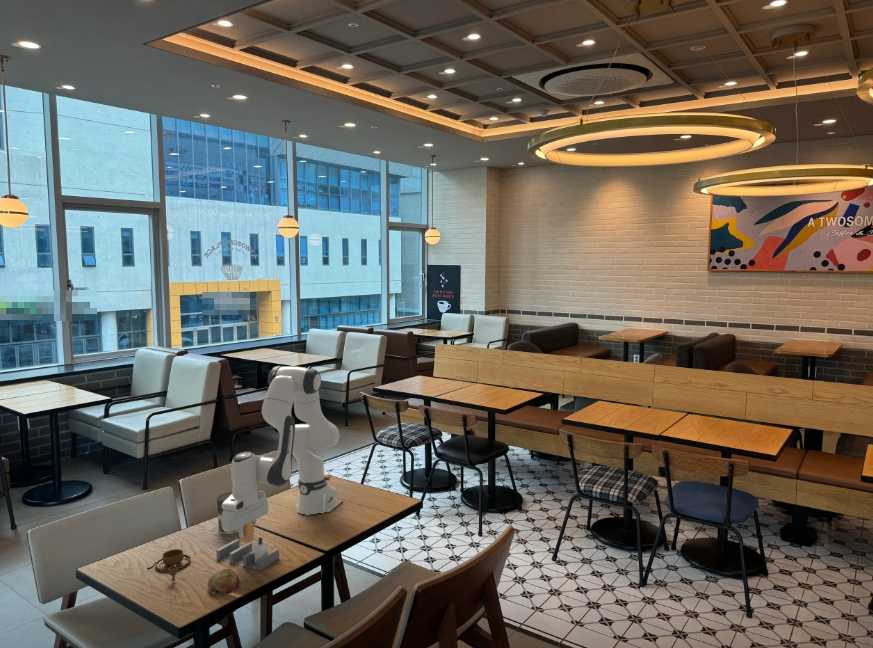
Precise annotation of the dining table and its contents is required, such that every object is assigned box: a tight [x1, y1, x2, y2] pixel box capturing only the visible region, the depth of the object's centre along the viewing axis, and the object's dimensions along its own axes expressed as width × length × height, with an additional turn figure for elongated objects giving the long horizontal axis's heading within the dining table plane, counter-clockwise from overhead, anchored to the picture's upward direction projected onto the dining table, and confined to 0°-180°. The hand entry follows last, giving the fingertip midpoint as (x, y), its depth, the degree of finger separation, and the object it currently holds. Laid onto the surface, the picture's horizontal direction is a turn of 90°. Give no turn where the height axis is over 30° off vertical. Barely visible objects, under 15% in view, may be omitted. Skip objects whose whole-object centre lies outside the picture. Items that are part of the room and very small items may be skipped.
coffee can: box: [216, 491, 239, 535], centre depth 253 cm, size 10×10×14 cm
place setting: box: [154, 548, 191, 582], centre depth 219 cm, size 18×20×6 cm
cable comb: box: [215, 539, 280, 571], centre depth 225 cm, size 10×21×4 cm, turn 63°
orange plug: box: [239, 521, 254, 544], centre depth 224 cm, size 3×4×9 cm
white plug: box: [253, 536, 269, 563], centre depth 221 cm, size 3×4×9 cm
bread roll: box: [207, 568, 240, 595], centre depth 206 cm, size 10×10×8 cm
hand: (246, 534), depth 224 cm, fingers closed on orange plug, 3 cm apart
